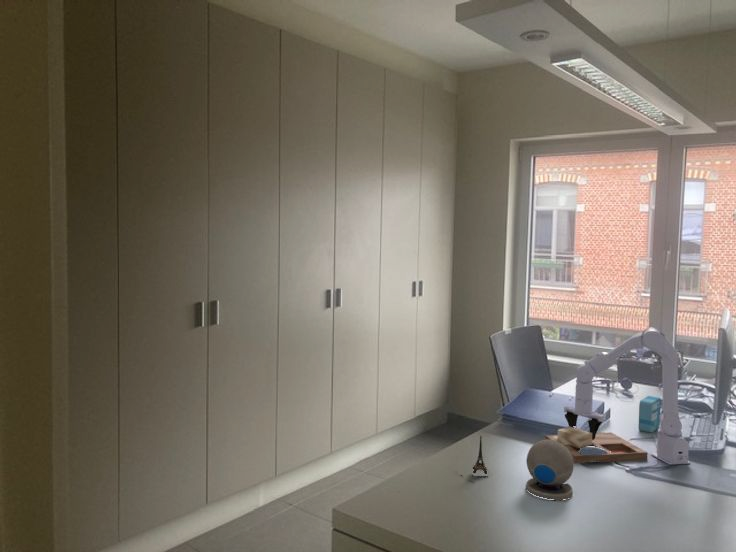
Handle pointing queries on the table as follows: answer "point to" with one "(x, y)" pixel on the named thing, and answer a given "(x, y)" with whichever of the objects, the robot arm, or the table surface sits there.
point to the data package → (649, 414)
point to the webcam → (550, 470)
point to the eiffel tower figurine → (481, 465)
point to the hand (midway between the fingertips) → (582, 436)
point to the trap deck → (606, 449)
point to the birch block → (574, 437)
